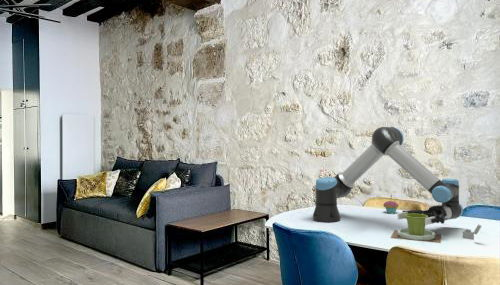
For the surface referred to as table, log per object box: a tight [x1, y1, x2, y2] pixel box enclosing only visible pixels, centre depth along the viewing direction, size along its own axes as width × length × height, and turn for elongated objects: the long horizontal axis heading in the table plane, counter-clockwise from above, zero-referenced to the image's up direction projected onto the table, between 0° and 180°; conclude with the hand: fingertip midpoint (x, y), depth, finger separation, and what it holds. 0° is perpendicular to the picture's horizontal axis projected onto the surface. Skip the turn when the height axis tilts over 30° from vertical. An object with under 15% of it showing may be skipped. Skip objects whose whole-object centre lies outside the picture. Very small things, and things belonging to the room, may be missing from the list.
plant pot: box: [405, 213, 428, 236], centre depth 172 cm, size 9×9×9 cm
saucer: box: [397, 228, 436, 242], centre depth 172 cm, size 15×15×2 cm
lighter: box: [462, 224, 483, 240], centre depth 167 cm, size 7×2×8 cm, turn 50°
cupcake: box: [383, 194, 399, 214], centre depth 234 cm, size 9×8×12 cm
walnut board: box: [390, 229, 442, 244], centre depth 172 cm, size 20×16×2 cm
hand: (411, 218), depth 170 cm, fingers open, 13 cm apart
